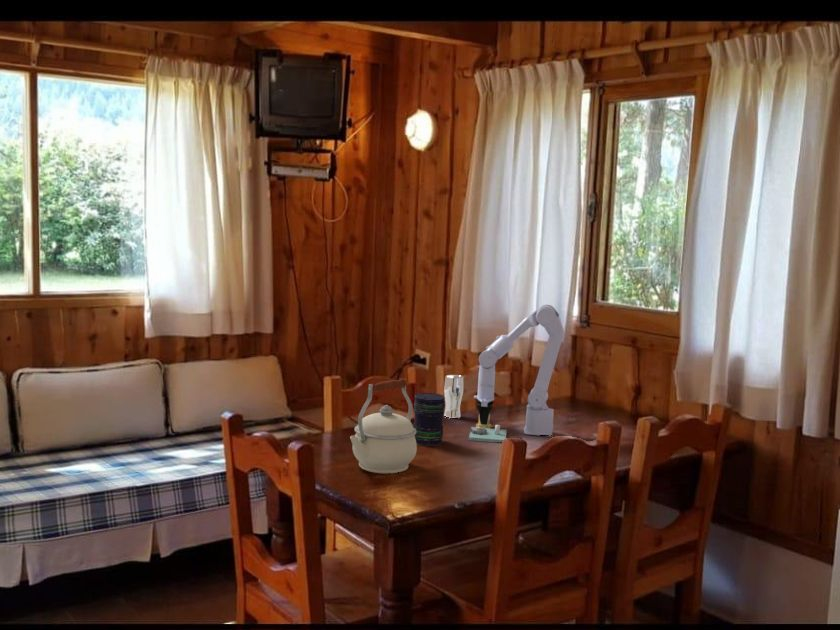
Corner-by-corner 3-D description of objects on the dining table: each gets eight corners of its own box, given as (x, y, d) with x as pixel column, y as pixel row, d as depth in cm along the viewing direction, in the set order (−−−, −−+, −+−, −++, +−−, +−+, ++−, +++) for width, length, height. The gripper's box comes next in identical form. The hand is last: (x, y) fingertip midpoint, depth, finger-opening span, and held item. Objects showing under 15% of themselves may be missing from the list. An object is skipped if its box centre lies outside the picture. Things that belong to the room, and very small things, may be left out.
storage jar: (422, 435, 272) (424, 391, 270) (448, 441, 267) (450, 396, 266) (406, 442, 264) (408, 396, 262) (432, 447, 259) (435, 400, 257)
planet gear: (491, 425, 290) (492, 412, 290) (491, 429, 285) (492, 415, 285) (476, 424, 291) (477, 410, 291) (475, 428, 286) (476, 414, 285)
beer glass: (462, 415, 304) (464, 375, 303) (461, 419, 298) (463, 378, 296) (443, 413, 305) (445, 374, 303) (441, 418, 298) (444, 377, 297)
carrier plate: (506, 432, 282) (507, 421, 282) (505, 443, 268) (506, 431, 268) (471, 429, 284) (472, 418, 283) (468, 440, 270) (469, 428, 269)
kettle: (385, 452, 250) (389, 371, 248) (432, 466, 239) (437, 381, 236) (325, 468, 231) (329, 381, 228) (374, 484, 220) (378, 392, 217)
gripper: (475, 379, 294) (473, 417, 296) (473, 387, 280) (471, 426, 281) (495, 381, 293) (493, 418, 295) (494, 389, 279) (491, 428, 280)
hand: (483, 422), depth 288 cm, fingers closed on planet gear, 4 cm apart
